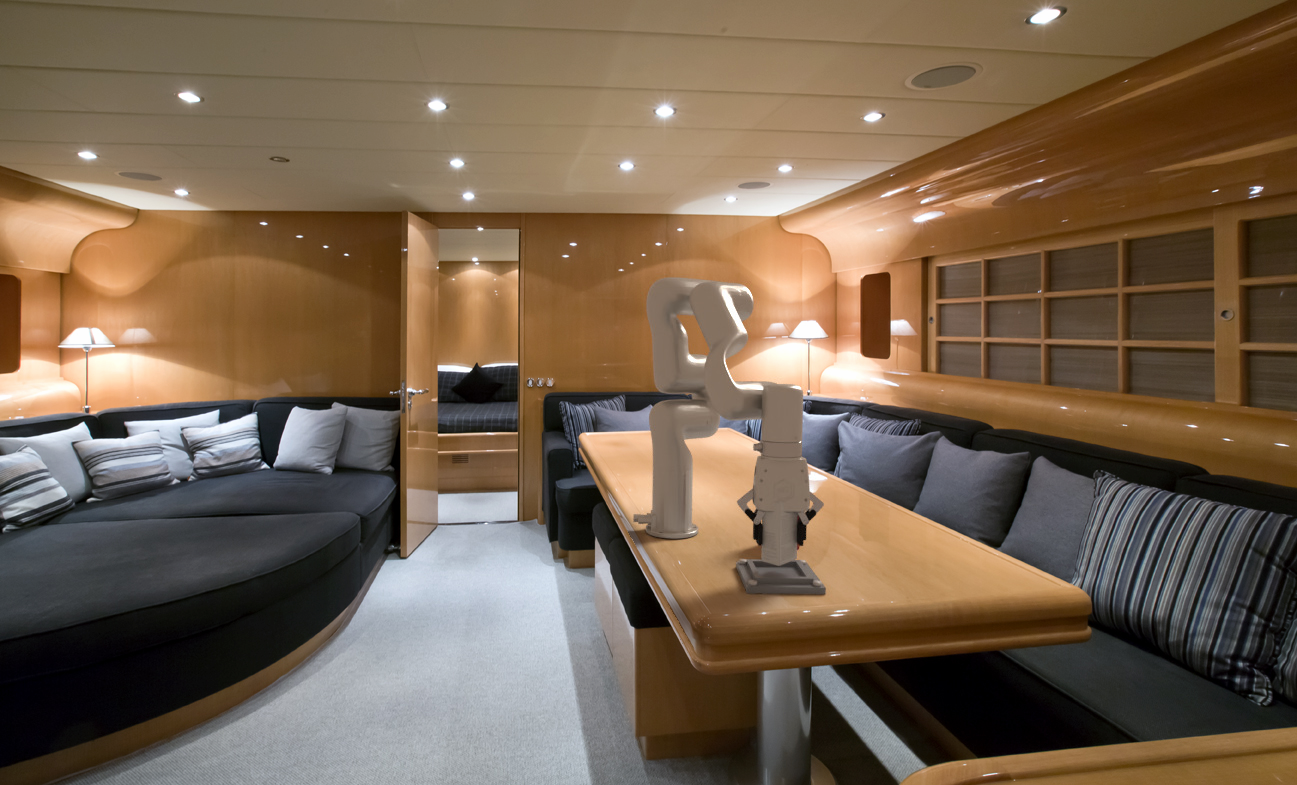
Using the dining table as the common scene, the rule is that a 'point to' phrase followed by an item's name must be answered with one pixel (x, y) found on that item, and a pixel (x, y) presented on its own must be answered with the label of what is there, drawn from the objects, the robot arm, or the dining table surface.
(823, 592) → the plate
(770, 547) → the skincare box
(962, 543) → the dining table surface
